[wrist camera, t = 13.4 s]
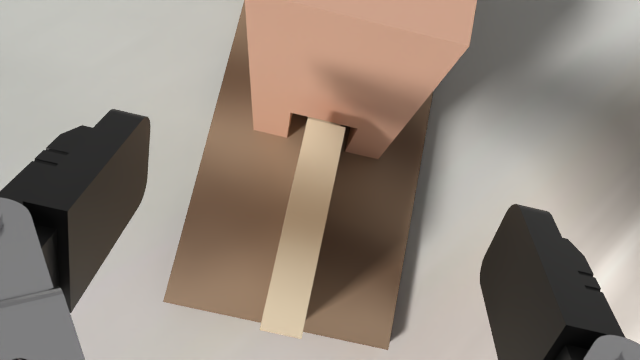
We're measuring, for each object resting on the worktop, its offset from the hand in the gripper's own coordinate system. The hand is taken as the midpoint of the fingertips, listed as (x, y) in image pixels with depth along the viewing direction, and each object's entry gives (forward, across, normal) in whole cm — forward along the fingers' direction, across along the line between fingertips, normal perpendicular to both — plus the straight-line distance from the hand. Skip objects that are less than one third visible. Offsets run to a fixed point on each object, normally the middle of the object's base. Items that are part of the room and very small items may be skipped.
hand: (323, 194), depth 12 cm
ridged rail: (+15, 0, +5) cm, 16 cm away
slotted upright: (+14, 0, +5) cm, 15 cm away
